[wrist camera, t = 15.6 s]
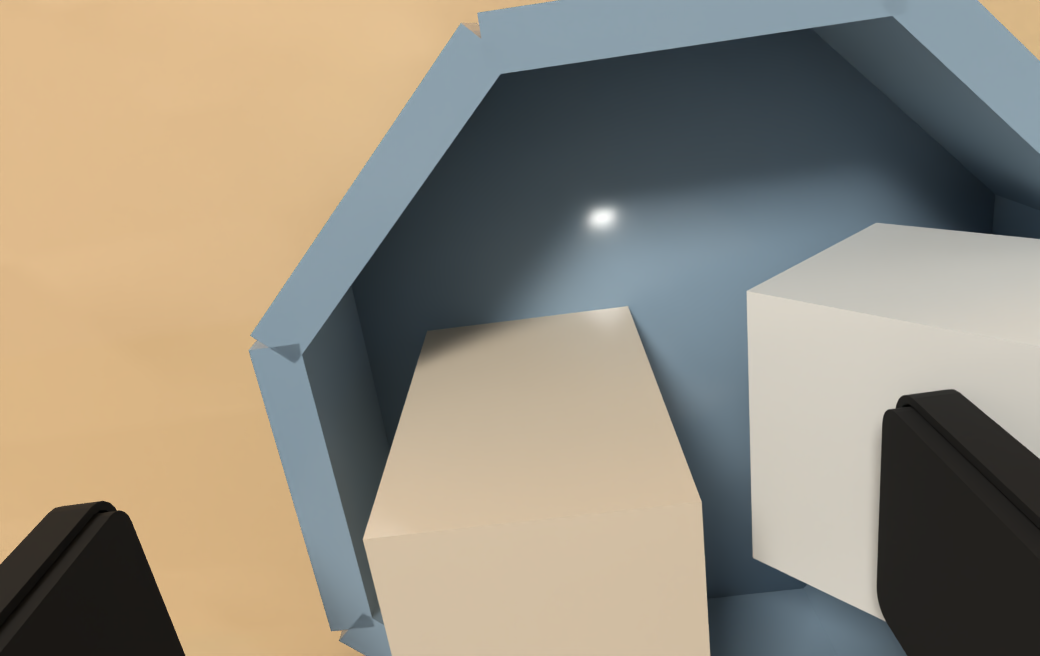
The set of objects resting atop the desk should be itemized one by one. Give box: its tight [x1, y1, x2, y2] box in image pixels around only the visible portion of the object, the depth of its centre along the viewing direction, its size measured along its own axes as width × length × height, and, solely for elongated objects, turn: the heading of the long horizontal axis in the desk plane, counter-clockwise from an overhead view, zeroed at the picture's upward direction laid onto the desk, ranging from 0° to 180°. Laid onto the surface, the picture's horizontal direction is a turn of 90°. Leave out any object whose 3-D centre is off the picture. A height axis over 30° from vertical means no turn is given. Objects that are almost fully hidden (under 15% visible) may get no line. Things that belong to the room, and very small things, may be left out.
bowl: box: [249, 0, 1040, 656], centre depth 13 cm, size 12×12×4 cm
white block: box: [747, 223, 1040, 621], centre depth 10 cm, size 4×4×6 cm
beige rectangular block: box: [363, 306, 710, 656], centre depth 12 cm, size 4×4×6 cm
